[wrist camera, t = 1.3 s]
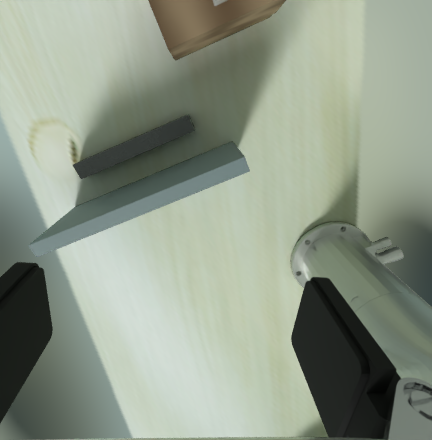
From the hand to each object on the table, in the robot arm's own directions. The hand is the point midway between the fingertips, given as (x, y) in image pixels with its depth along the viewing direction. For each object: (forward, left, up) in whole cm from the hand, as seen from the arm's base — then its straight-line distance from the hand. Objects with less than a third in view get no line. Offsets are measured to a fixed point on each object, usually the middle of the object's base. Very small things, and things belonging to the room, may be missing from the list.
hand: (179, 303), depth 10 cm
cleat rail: (+7, -4, -31) cm, 32 cm away
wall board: (+7, +1, -31) cm, 32 cm away
